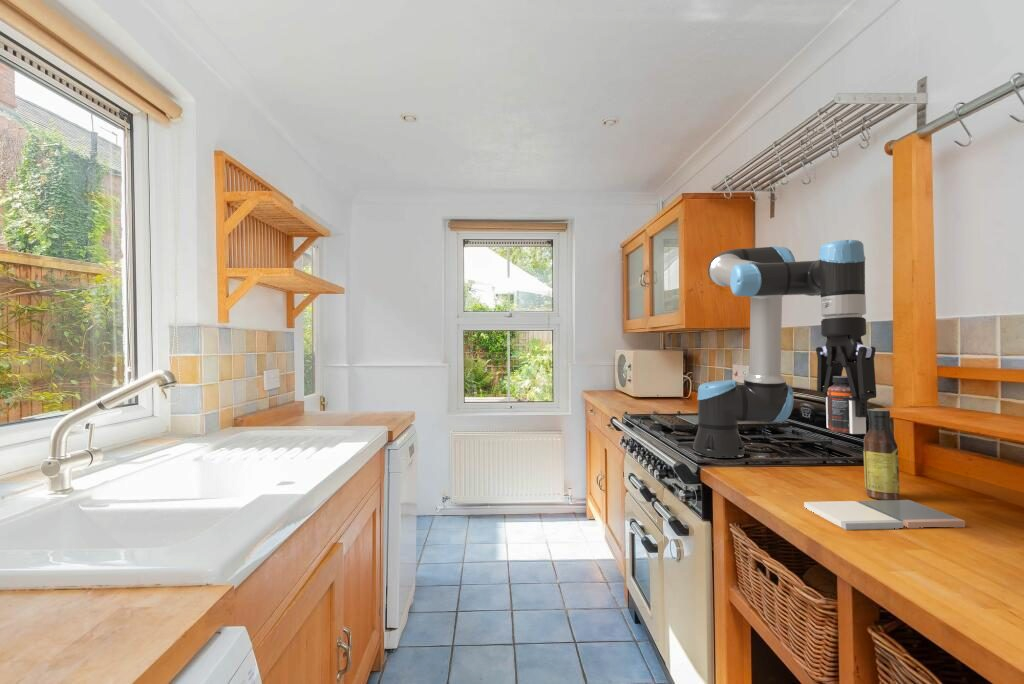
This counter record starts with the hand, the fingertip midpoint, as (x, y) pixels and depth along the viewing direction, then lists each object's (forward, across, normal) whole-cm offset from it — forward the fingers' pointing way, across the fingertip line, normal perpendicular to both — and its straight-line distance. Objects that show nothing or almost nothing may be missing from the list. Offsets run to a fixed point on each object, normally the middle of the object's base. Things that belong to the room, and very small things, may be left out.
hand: (845, 430), depth 96 cm
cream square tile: (+17, 0, 0) cm, 17 cm away
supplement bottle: (0, 0, 0) cm, 0 cm away
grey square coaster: (+17, 0, +12) cm, 21 cm away
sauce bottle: (+17, -11, +16) cm, 26 cm away
